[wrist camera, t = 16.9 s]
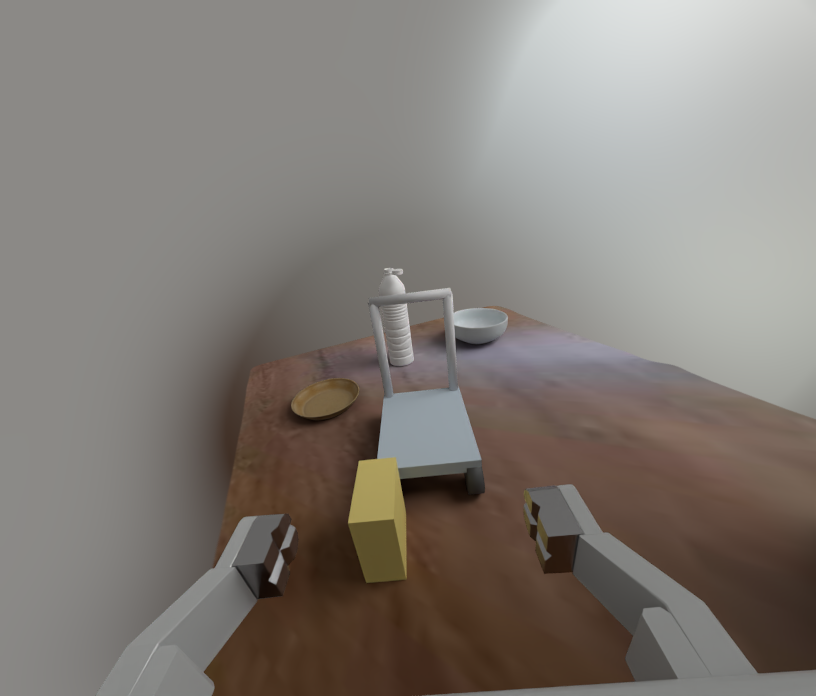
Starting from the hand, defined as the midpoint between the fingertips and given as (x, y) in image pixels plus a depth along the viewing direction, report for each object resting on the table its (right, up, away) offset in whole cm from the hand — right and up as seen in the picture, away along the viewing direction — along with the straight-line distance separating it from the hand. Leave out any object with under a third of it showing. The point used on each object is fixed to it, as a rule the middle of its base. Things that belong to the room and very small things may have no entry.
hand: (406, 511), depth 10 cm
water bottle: (-1, +2, +70) cm, 70 cm away
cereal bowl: (+21, +8, +78) cm, 81 cm away
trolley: (+3, -11, +40) cm, 41 cm away
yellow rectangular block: (-2, -18, +26) cm, 32 cm away
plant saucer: (-18, -7, +56) cm, 59 cm away
